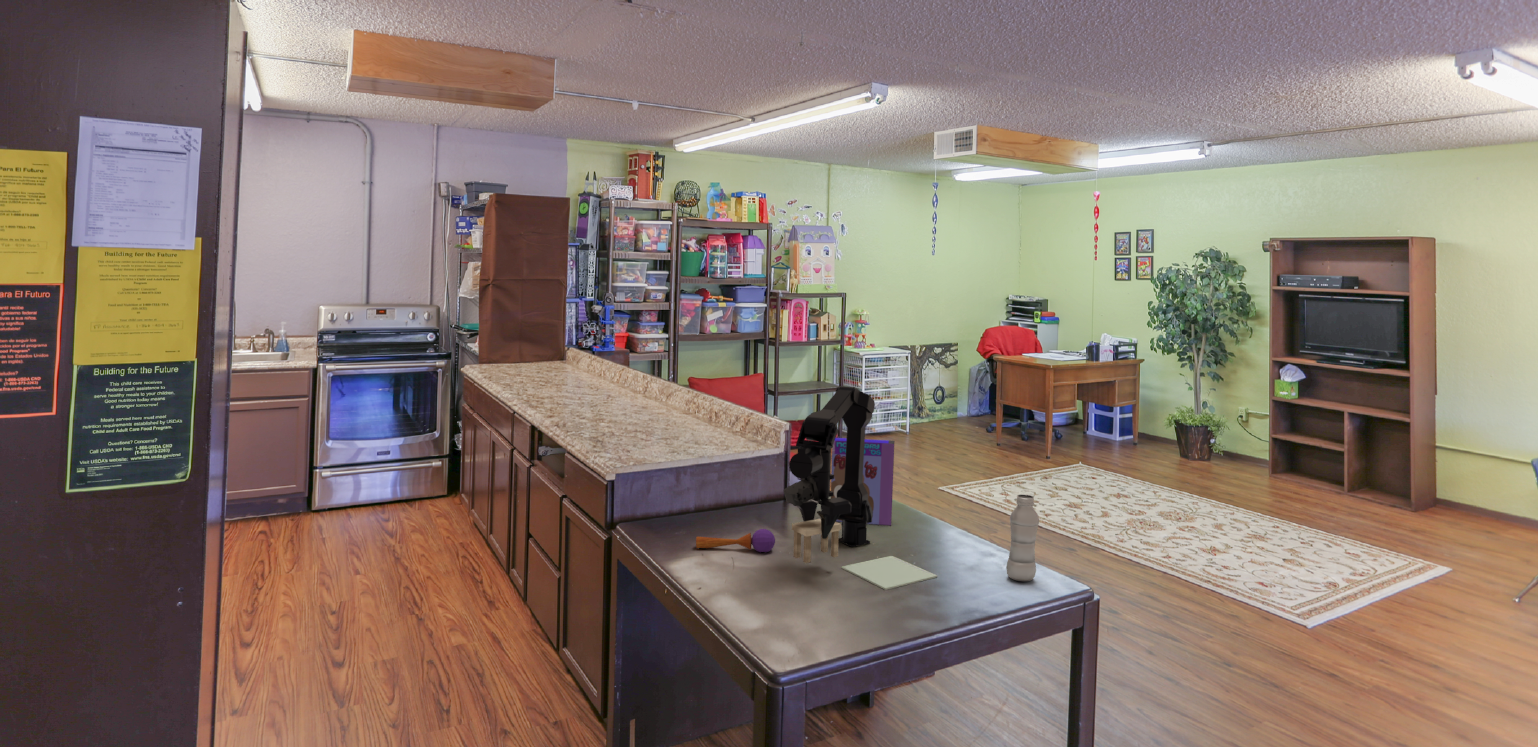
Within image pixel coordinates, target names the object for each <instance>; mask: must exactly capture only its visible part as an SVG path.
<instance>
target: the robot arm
mask: <svg viewBox="0 0 1538 747" xmlns="http://www.w3.org/2000/svg"><path fill="white" fill-rule="evenodd" d="M875 404H876V403H875V400H874V399H873V397H872V396H871V395H870V394H867V393H866V392H863V391H860V389H859V388H857V387H855V386H845V385H840V386H838V387H836V390H835V393H834V394H833V395H832V396H831V398H830V399H829V400H828V401H827V403H826V404H825V405H824V406H823V407H822V408H821V409H820V410H818V411H814V412H811V413H810V414H808V415H807V416H806V417H805V418H804V420H803V421H802V424H801V427H800V430H799V434H798V437H797V441H796V444H795V446H796V447H797V453H796V454H794V455H792V456H791V458H790V461H789V463H788V466H789V471H790V473H791V474H792V475H793V476H794V477H795V478H798V479H800V480H799V481H797V482H794V483H791V485H788V486H787V487H785V488H784V489H783V493H784V497H785V499H786V500H785V501H786V503H787V504H791V505H793V506H794V507H797V508H798V509H799V511H800V514H801V518H802V522H804V521H810V520H815V516H816V514H817V515H818V516H819V517H820V519H821V531H822V538H823V539H826V538H827V537H828V538H829V535H830V533H831V532H830V531H831V529H832V527H833V525H834V524H835V522H836V520H837V519H838V520H839V519H840V520H842V523H841V537H839V538H838V543H839V542H840V543H842V544H844V545H846V546H849V547H851V548H854V547H858V546H859V547H860V546H863V545H867V544H868V545H869V544H871V541H870V540H868V539H867V535H868V534H867V532H868V531H867V530H868V528H867V525H868V524H867V523H871V522H872V518H873V510H872V508H871V506H870V503H869V501H868V492H867V491H866V489H865V487H864V485H863V483H862V480H863V461H864V442H865V439H866V438H865V436H866V428H867V427H868V425H869V424H870V422H871V420H872V419H873V413H874V411H875V409H876V408H875V407H876V406H875ZM841 420H842V421H843V423H844V425H845V427H846V438H847V440H846V459H845V479H844V484H843V485H842V487H841V488H840V490H838V491H837V498H831V497H832V496H833V495H834V492H832V491H831V479H834V475H833V474H831V471H832V448H833V443H834V441H835V438H837V435H838V432H839V429H838V423H839V422H840V421H841ZM818 505H820V510H818V511H817V509H818V508H817V507H818Z"/></svg>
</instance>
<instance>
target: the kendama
mask: <svg viewBox="0 0 1538 747" xmlns="http://www.w3.org/2000/svg"><path fill="white" fill-rule="evenodd" d="M695 538H696V539H695V546H696V549H697V548H706V549H711V548H718V547H724V546H730V545H731V546H733V545H739V546H742V547H743V548H746V549H748V550H752V548H753V549H754V550H755V551H756V552H758V553H761V552H765V553H768V552H771V551H772V550H773V549H774V547H775V544H776V538H775V535H774V533H773V532H772V531H770V530H769V529H767V528H759V529H758V530H756V531H755V532H754V533H753V534H752V533H751V532H748V533H747V534H745V535H743V536H741V537H738V538H737V539H735V538H724V537H721V538H720V537H719V538H718V537H710V536H709V537H707V536H696V537H695Z"/></svg>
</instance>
